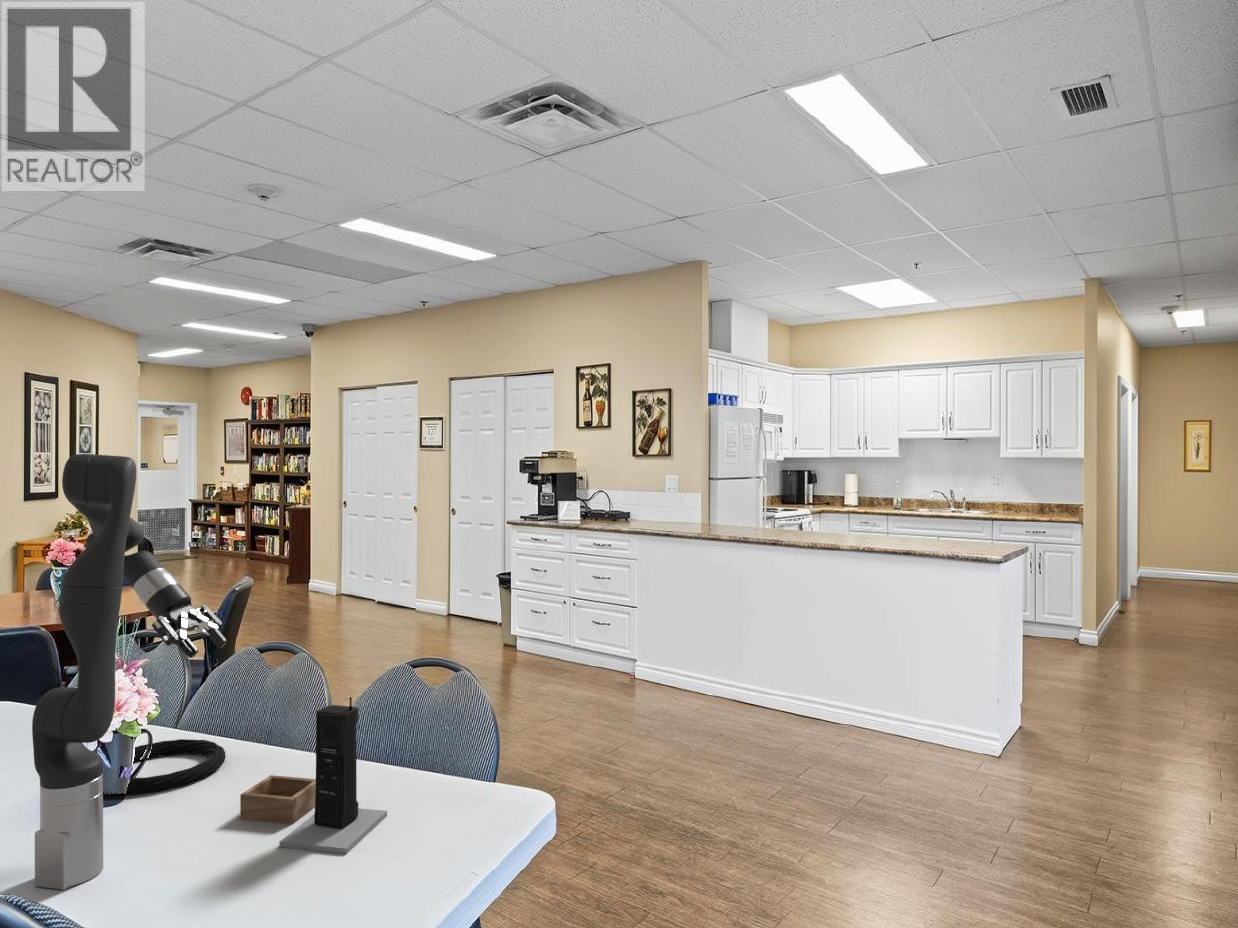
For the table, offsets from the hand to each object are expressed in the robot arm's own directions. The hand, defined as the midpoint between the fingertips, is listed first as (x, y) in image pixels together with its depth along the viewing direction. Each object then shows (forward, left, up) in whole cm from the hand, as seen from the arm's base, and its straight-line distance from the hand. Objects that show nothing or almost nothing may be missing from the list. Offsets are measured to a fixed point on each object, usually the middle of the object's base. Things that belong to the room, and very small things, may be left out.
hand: (209, 649), depth 165 cm
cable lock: (+14, +26, -34) cm, 45 cm away
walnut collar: (+2, -15, -34) cm, 37 cm away
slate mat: (-4, -31, -34) cm, 46 cm away
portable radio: (-2, -30, -33) cm, 45 cm away
